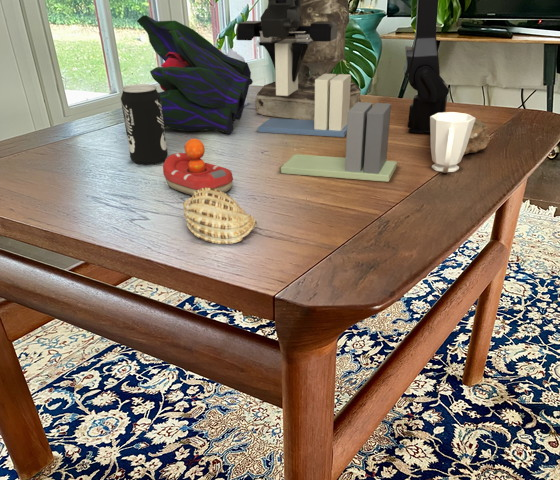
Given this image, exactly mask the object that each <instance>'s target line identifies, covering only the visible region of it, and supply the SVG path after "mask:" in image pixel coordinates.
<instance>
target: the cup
mask: <svg viewBox="0 0 560 480" xmlns="http://www.w3.org/2000/svg"><path fill="white" fill-rule="evenodd" d="M475 118H476V117H475V116H473V115H471V114H469V113H463V112H455V111H445V113H437V114H434V115H432V116H430V133H431V134H430V153H431V154H430V155H431V161H432V162H433V163H434V164H432V165H431V169H433V170H435V171H436V172H441V173H442V174H448V173H454V172H457V171H458V170H459V169H460V166H459V165H458V164H460V163H461V162H462V159H463V157H464V155H465V154H464V152H465V150H466V147H467V144H468V141H469V137H470V134H471V131H472V128H473V125H474V122H475Z"/></svg>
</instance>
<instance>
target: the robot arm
mask: <svg viewBox="0 0 560 480" xmlns="http://www.w3.org/2000/svg"><path fill="white" fill-rule="evenodd" d="M267 2H268V3H267V8H265V9H264V11H263V13H262V14H261V16H260V18H259V19H260V20H245V21H241V22H238V24H237V25H236V28H235V37H236V38H235V39H236V41H252V40H253V39H254V38H259V42H258V45H259V46H260V47H261V46H262V47H264V49H265V50H266V52H267V54H268V56H269V57H270V60H271V63H272V65H273V69H275V43H277V42H280V41H282V39H277V37H279V38H285V37H287V36H289V37H295V39H296V42H294V43H292V48H293V63H292V81H293V82H295V81H296V78H297V75H298V72H299V69H300V66H301V63H302V60H303V57H304V55H305V53H306V50H307V48H308V46H309V45H311V44H313V43H314V41H322V42H328V41H332V40H334V39H336V38H337V25H336V23H335V22H334V21H317V22H314V23H311V26H301V25H302V24H303V18H301V0H267ZM438 11H439V0H416V14H415V15H416V18H415V34H414V38H413V42H412V45H411V46H408V45H405V46H404V51H405V64H404V67H403V72H404V75H405V76H407V80H408V83H409V85H410V87H411V88H412V89H413V90H414V91H416V92H417V94H415V95H414V96H413V98H412V99H413V100H412V103H410V105H409V108H408V118H407V119H408V120H407V128H408V133H411V134H425V135H426V134H427V135H431V134H430V116H432V115H434V114H437V113H445V112H447V111H446V110H447V105H448V104H447V103H448V97H449V96H448V95H449V93H450V89H449V87H448V86H447V83H446V81H445V80H444V79H443V77H442V76H441V75H440V74H441V72H440V59H439V50H438V39H437V27H438V25H437V24H438V14H439V13H438Z"/></svg>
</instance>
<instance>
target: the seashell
mask: <svg viewBox="0 0 560 480" xmlns="http://www.w3.org/2000/svg"><path fill="white" fill-rule="evenodd" d="M182 208H183V217H184V219H185V221H186V227H187V228H188V230H189V231H190V232H191V233H192V235H194V236H195V237H197V238H199V239H201V240H202V241H204V242H205V241H206V242H209V243H213V244H219V245H231V244H237V243H239V242H241V241H243V240H244V239H243V238H245V237H246V236H248V235H249V234H250V233H251V232H252V231H253V230H254V229H255V228H256V227H257V226H258V222H257V220H256V219H255V217H254V216H252V214H249V213H246V211H245V210H244V208H242V207H241V206H240V205H239V203H238V202H237V201H236V200H235V199H234V198H233V197H232V196H230V194H227V193H226V192H221V191H219V190H216V189H212V188H201V189H199V190H197V191H195V192H194V195H193V196H192V195H191V197H188V199H187V198H186V200H185V201H184V202H182Z"/></svg>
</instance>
